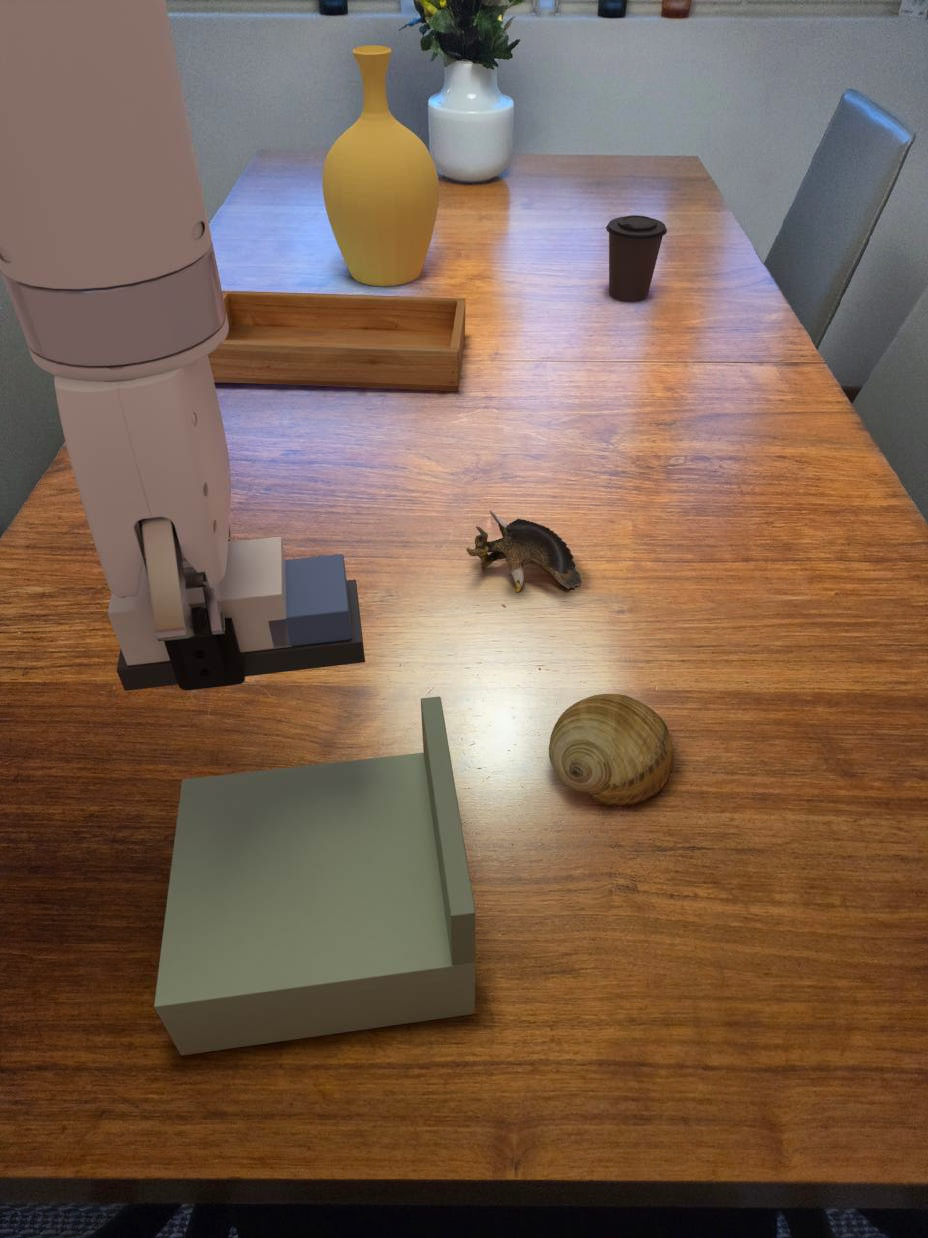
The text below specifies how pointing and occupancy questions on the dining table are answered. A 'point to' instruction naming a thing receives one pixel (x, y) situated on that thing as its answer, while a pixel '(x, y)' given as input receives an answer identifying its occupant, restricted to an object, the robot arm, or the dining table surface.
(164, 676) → the black base with blocks
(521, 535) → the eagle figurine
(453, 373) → the tray
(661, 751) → the seashell
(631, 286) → the coffee cup
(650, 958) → the dining table surface
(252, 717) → the dining table surface
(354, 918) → the olive lipped platform
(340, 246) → the vase
